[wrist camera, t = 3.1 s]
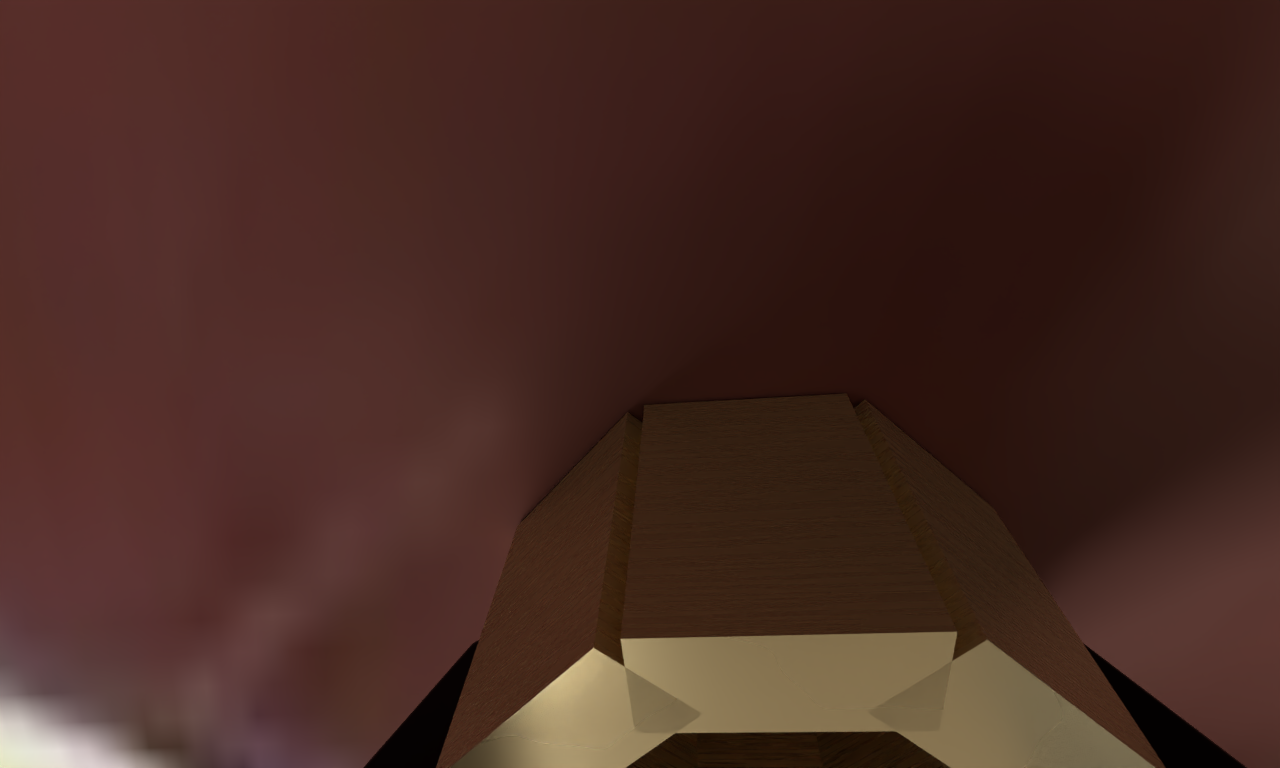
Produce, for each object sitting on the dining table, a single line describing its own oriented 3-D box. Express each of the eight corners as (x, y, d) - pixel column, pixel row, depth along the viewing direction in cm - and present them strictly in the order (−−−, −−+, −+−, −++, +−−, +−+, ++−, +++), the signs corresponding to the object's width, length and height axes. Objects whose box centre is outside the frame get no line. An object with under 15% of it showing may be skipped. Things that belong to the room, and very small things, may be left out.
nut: (484, 413, 8) (363, 644, 5) (1023, 383, 8) (1264, 626, 4) (562, 738, 11) (515, 1010, 8) (954, 735, 10) (1069, 1029, 7)
